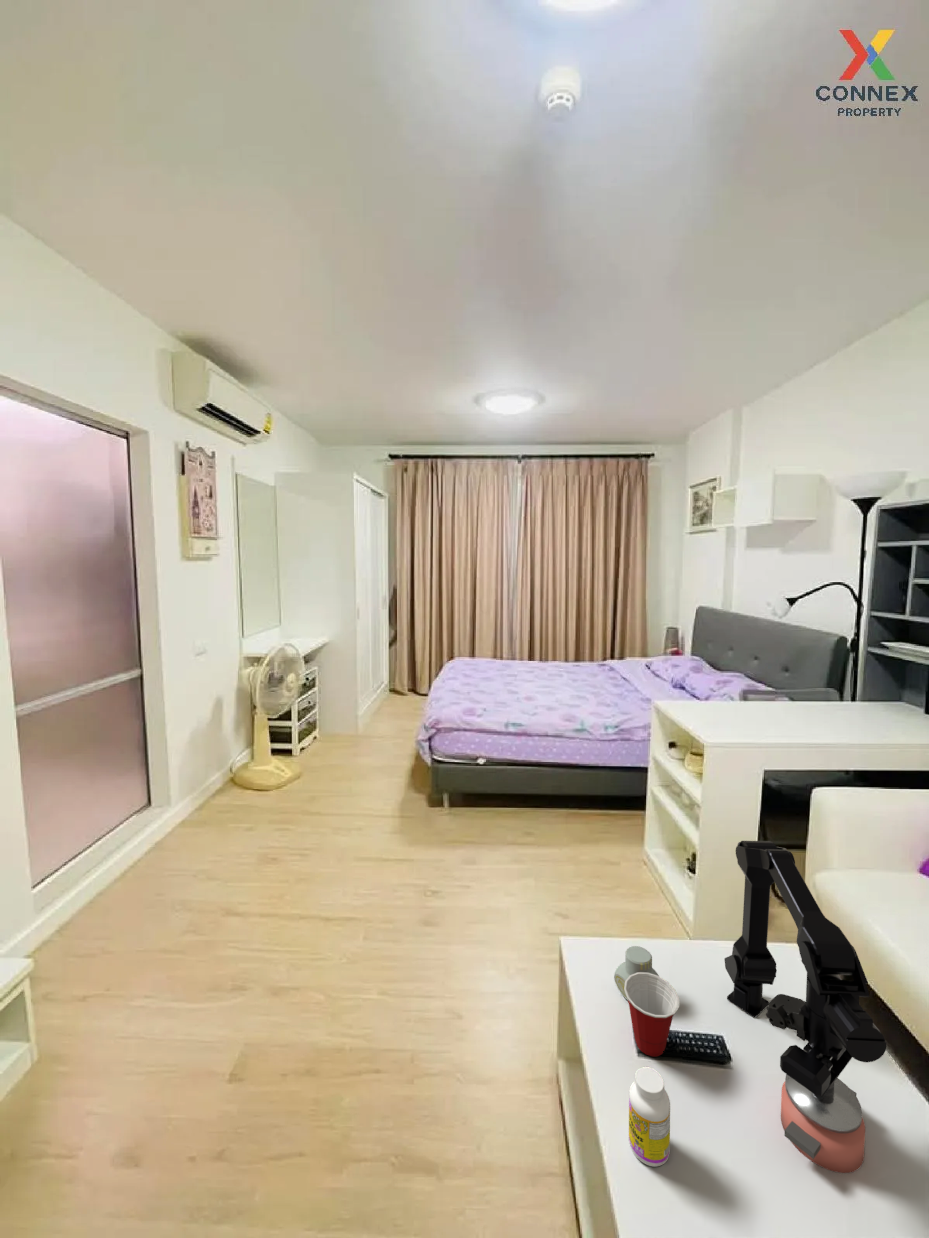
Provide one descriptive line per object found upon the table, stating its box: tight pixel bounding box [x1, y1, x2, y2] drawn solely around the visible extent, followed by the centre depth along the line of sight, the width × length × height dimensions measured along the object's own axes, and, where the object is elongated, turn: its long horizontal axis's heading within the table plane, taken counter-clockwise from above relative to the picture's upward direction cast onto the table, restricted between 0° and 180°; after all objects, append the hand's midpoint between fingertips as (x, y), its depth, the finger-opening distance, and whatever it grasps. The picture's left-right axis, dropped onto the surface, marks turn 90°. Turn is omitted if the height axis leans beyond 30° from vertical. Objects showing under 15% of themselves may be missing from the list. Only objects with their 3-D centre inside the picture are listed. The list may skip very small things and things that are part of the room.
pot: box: [780, 1081, 866, 1174], centre depth 92 cm, size 17×12×5 cm
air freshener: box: [613, 945, 660, 1001], centre depth 123 cm, size 11×8×10 cm
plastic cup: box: [624, 972, 680, 1057], centre depth 110 cm, size 11×11×12 cm
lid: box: [784, 1067, 863, 1134], centre depth 91 cm, size 11×11×6 cm
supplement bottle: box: [628, 1066, 671, 1168], centre depth 90 cm, size 7×7×13 cm
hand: (822, 1090), depth 92 cm, fingers closed on lid, 3 cm apart
